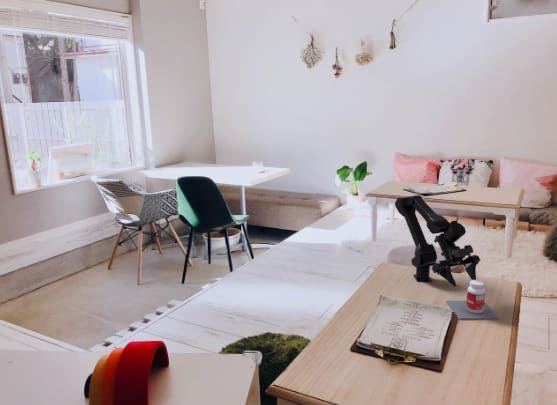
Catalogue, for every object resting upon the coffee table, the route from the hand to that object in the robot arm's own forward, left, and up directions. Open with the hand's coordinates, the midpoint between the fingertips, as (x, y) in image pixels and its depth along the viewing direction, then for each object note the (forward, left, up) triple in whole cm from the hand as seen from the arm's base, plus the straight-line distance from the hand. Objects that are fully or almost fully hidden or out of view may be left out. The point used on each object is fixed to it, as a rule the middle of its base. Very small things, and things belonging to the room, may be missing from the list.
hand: (465, 284), depth 179 cm
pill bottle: (+6, +2, -8) cm, 10 cm away
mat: (+5, +1, -8) cm, 10 cm away
